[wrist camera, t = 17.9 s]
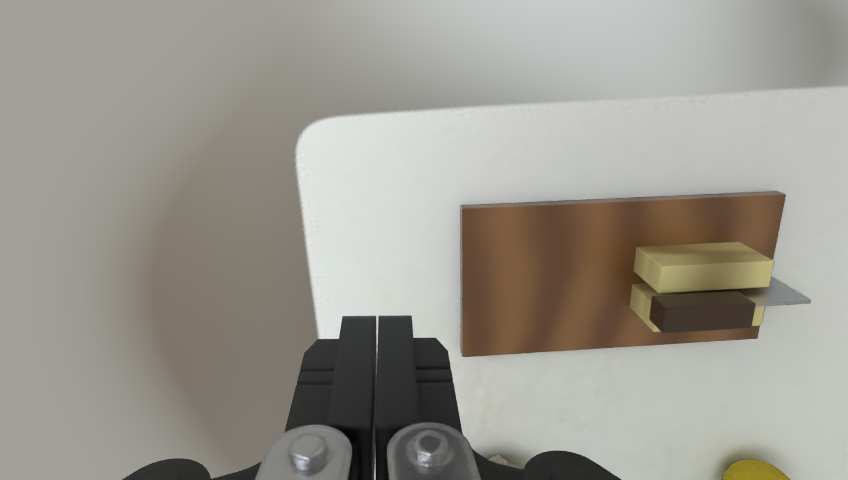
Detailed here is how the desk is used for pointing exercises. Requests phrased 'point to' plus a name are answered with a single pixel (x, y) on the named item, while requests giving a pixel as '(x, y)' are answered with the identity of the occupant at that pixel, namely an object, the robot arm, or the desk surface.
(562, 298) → the butter board
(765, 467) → the lemon
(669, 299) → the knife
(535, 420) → the desk surface
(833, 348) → the desk surface
